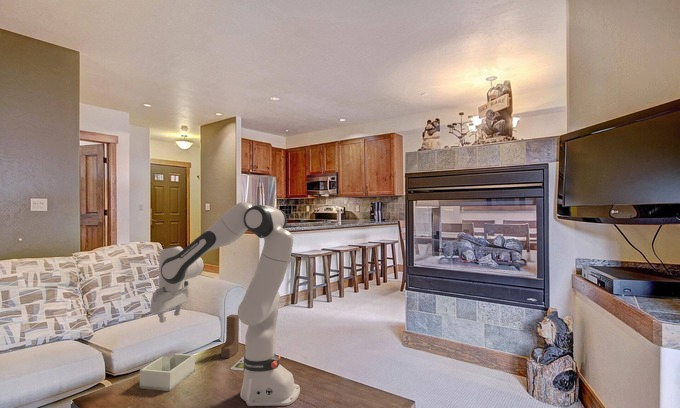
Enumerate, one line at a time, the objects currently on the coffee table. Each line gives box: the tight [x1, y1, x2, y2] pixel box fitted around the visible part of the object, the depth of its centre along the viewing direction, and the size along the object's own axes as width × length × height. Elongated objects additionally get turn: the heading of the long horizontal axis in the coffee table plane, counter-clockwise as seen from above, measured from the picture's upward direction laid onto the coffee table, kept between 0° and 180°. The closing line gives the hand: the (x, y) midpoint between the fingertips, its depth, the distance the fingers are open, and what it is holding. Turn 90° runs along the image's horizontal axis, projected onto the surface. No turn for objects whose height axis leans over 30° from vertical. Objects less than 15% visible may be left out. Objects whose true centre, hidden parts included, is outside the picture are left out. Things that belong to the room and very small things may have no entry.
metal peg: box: [161, 352, 176, 371], centre depth 144 cm, size 4×4×9 cm
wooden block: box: [220, 313, 240, 359], centre depth 170 cm, size 9×4×18 cm, turn 168°
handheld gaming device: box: [230, 355, 245, 372], centre depth 160 cm, size 9×1×15 cm
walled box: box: [139, 353, 196, 392], centre depth 144 cm, size 13×17×7 cm
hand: (170, 318), depth 145 cm, fingers open, 8 cm apart
